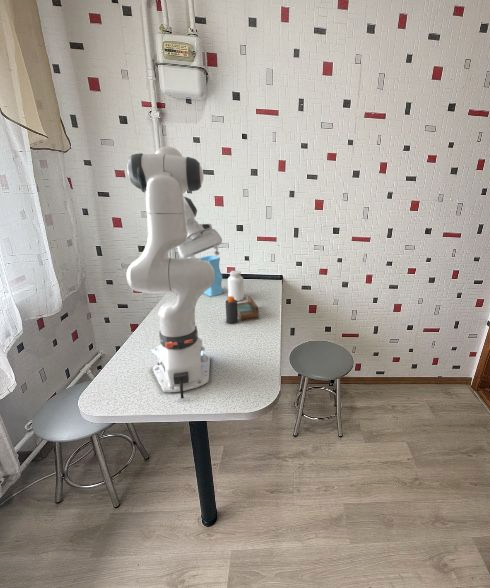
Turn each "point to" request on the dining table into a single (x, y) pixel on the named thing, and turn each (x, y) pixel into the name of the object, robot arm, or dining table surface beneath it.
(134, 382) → the dining table surface
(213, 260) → the vase
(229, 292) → the pill bottle
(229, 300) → the bottle
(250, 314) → the brown tray
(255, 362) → the dining table surface
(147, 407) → the dining table surface
